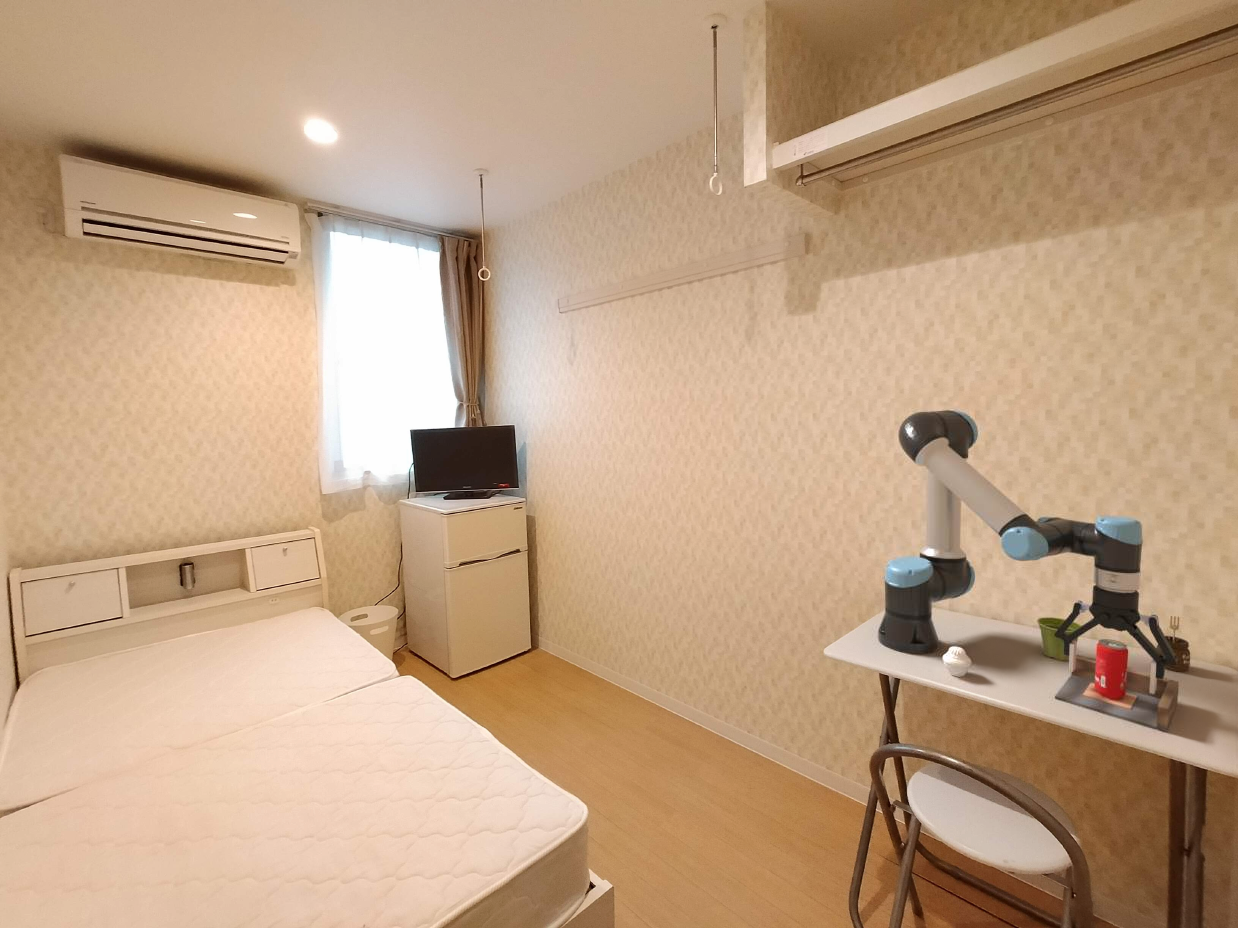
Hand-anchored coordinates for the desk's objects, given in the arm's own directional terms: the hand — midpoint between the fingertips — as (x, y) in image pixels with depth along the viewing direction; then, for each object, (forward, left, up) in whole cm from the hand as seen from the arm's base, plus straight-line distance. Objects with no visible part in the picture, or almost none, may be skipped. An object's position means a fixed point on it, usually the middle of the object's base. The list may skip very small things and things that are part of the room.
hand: (1110, 680), depth 123 cm
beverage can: (0, 0, -4) cm, 4 cm away
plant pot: (-13, +18, -5) cm, 22 cm away
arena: (+1, 0, -4) cm, 4 cm away
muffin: (-27, -12, -4) cm, 30 cm away
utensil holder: (+7, +30, -4) cm, 31 cm away
